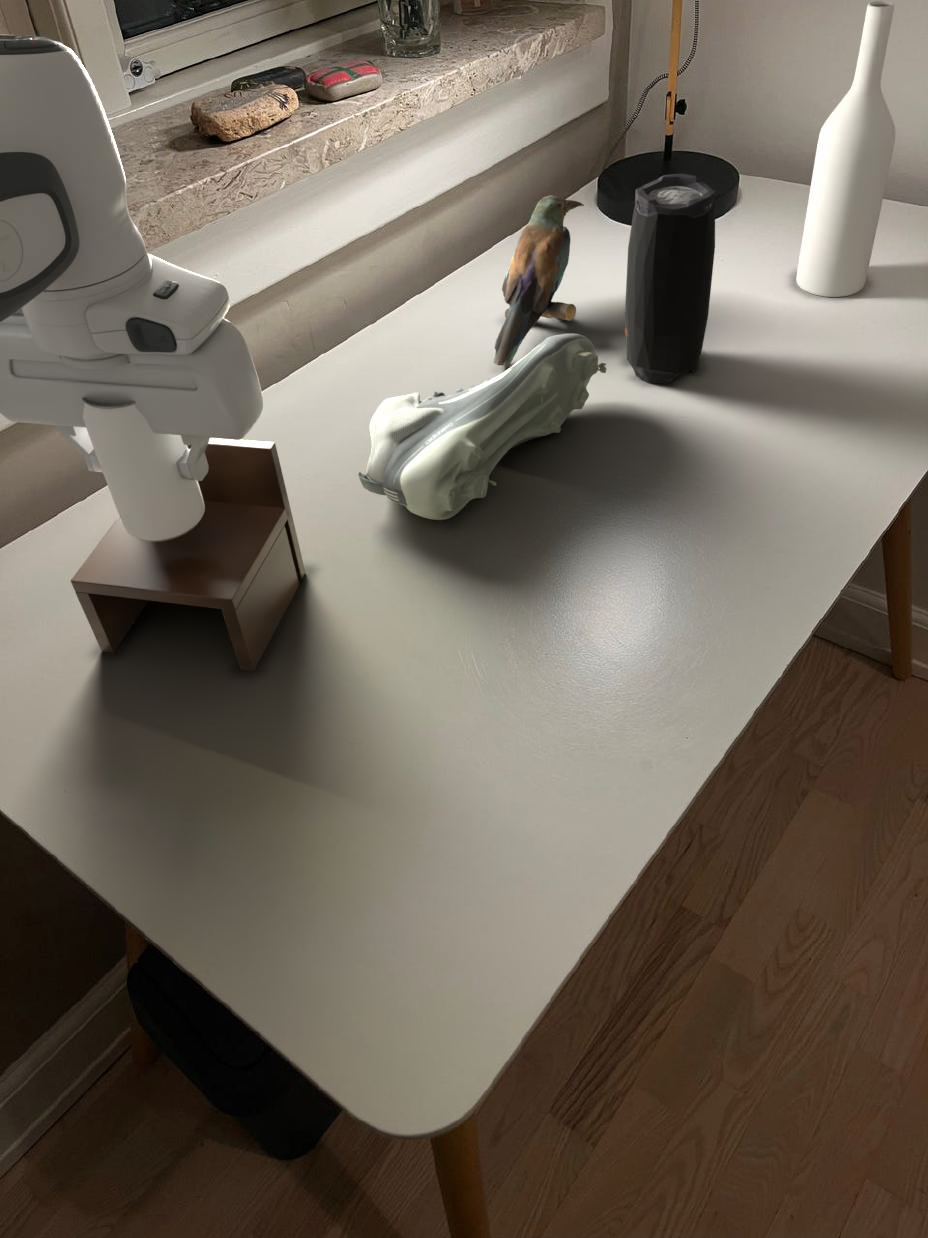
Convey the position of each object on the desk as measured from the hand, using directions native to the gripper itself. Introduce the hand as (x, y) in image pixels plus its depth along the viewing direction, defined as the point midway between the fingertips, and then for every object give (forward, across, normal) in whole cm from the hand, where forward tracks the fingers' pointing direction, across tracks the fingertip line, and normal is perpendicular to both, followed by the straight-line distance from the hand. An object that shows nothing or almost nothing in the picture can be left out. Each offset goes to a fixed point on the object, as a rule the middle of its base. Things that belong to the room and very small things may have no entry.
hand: (149, 471), depth 78 cm
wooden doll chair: (+16, 0, +1) cm, 16 cm away
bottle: (+16, +53, +69) cm, 88 cm away
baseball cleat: (+16, +18, +29) cm, 38 cm away
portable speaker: (+16, +35, +47) cm, 61 cm away
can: (+5, 0, 0) cm, 5 cm away
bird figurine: (+16, +20, +54) cm, 60 cm away
